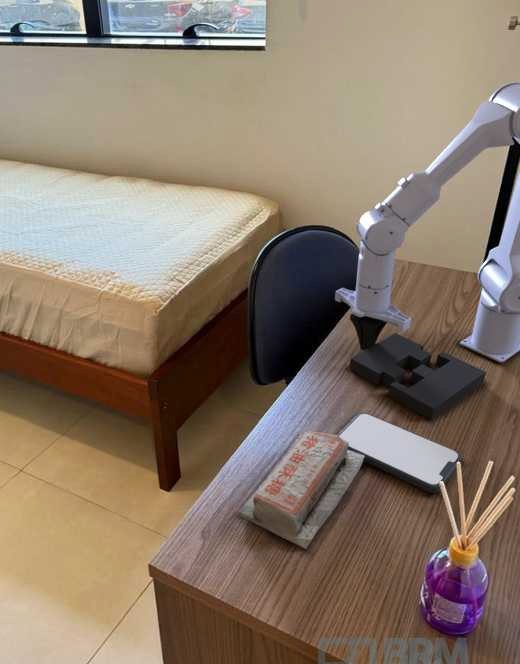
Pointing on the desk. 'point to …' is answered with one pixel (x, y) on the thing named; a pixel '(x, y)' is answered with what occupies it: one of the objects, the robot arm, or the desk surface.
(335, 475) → the packaged product
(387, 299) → the robot arm
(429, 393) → the pad
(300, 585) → the desk surface
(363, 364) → the loose pad
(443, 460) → the smartphone
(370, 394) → the desk surface
